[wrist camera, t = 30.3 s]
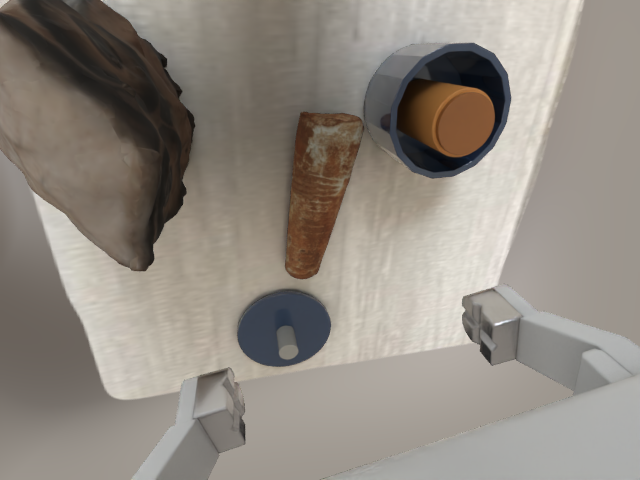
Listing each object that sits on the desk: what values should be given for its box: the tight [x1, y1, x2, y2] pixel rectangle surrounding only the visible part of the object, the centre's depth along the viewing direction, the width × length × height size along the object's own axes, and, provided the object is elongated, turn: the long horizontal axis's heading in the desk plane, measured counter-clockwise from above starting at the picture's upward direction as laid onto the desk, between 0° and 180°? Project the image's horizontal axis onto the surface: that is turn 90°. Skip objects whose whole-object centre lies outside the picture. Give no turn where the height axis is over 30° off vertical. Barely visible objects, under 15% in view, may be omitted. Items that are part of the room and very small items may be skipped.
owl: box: [0, 0, 195, 271], centre depth 25 cm, size 13×13×20 cm
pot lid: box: [237, 291, 331, 367], centre depth 47 cm, size 12×12×5 cm
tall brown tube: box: [396, 79, 495, 157], centre depth 34 cm, size 6×6×10 cm
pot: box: [364, 43, 511, 178], centre depth 35 cm, size 11×11×8 cm
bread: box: [285, 112, 364, 279], centre depth 38 cm, size 6×19×6 cm, turn 167°
